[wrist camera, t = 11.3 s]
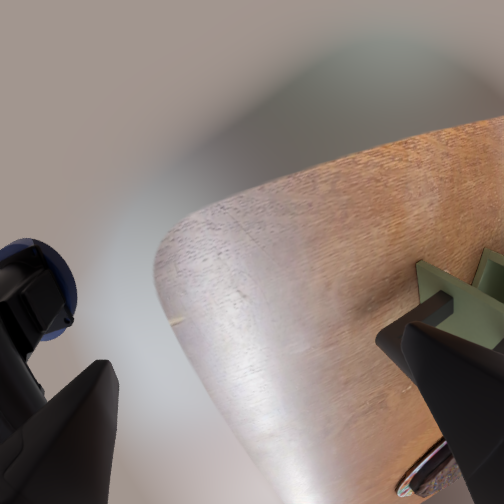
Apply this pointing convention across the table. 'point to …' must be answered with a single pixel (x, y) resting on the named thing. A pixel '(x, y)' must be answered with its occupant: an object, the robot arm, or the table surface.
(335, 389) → the table surface
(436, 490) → the chocolate cake
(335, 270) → the table surface
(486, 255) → the cupboard
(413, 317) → the cupboard door
